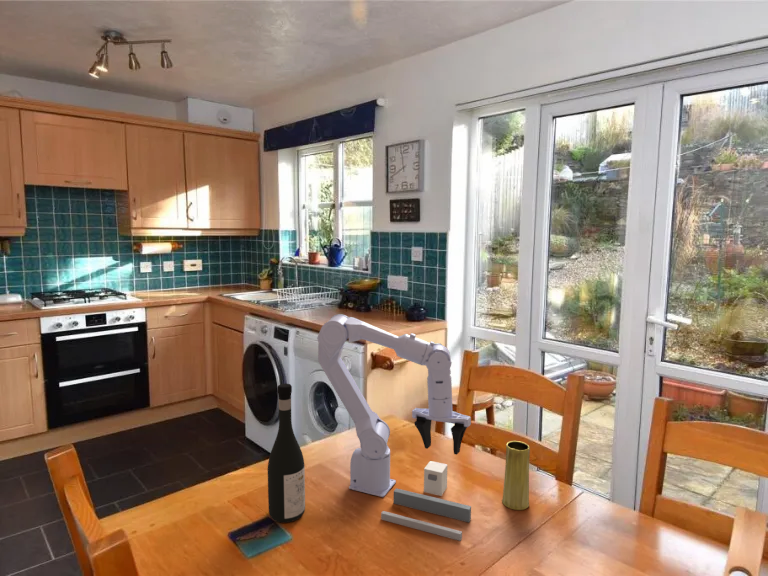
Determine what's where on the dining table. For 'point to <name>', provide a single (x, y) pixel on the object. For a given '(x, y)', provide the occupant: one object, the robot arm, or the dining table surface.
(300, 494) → the wine bottle
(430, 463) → the cabinet block
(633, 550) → the dining table surface
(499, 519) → the dining table surface
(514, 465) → the vase
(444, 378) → the robot arm
